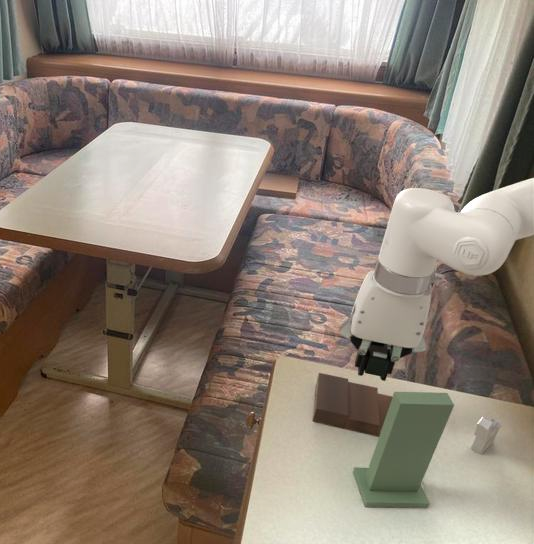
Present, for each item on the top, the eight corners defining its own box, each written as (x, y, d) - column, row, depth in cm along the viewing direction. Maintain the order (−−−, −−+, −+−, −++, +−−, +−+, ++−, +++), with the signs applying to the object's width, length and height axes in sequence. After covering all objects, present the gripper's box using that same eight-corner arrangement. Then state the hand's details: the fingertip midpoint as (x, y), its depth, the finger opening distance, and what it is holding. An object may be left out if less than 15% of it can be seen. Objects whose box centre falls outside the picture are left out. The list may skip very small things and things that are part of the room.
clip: (382, 357, 92) (388, 337, 90) (383, 377, 88) (390, 357, 86) (364, 353, 93) (370, 333, 91) (364, 373, 89) (371, 353, 87)
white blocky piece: (482, 435, 93) (499, 399, 89) (492, 442, 92) (511, 405, 88) (461, 457, 89) (478, 420, 85) (472, 464, 88) (490, 427, 84)
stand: (427, 507, 81) (469, 416, 71) (364, 506, 81) (398, 414, 71) (411, 472, 86) (448, 382, 77) (352, 471, 86) (382, 381, 76)
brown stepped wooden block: (404, 404, 98) (409, 391, 97) (408, 443, 91) (413, 430, 89) (315, 385, 101) (318, 372, 100) (312, 421, 94) (316, 408, 92)
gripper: (458, 272, 83) (422, 368, 93) (344, 252, 86) (320, 347, 96) (467, 300, 77) (427, 400, 87) (343, 277, 80) (318, 376, 90)
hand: (371, 371), depth 91 cm, fingers closed on clip, 2 cm apart
